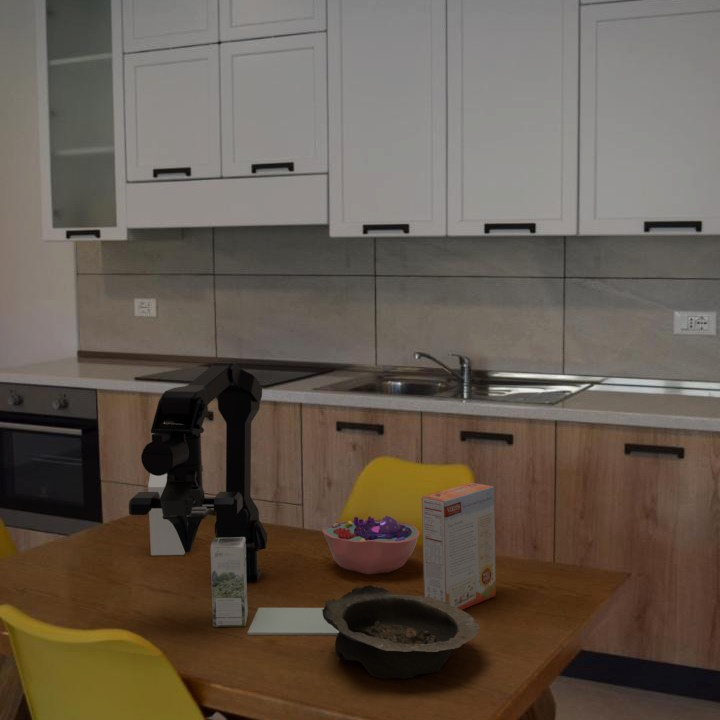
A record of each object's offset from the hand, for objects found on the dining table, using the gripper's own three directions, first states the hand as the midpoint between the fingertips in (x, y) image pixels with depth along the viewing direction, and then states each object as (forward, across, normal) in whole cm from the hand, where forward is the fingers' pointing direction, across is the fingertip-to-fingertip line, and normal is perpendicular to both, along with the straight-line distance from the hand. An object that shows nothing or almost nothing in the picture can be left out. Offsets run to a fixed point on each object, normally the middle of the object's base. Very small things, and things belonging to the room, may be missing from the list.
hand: (188, 551), depth 179 cm
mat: (+12, +19, 0) cm, 23 cm away
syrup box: (+13, +7, 0) cm, 15 cm away
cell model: (+13, +30, +29) cm, 44 cm away
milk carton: (+13, -14, +42) cm, 46 cm away
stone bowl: (+13, +37, -16) cm, 42 cm away
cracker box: (+13, +47, +10) cm, 50 cm away
